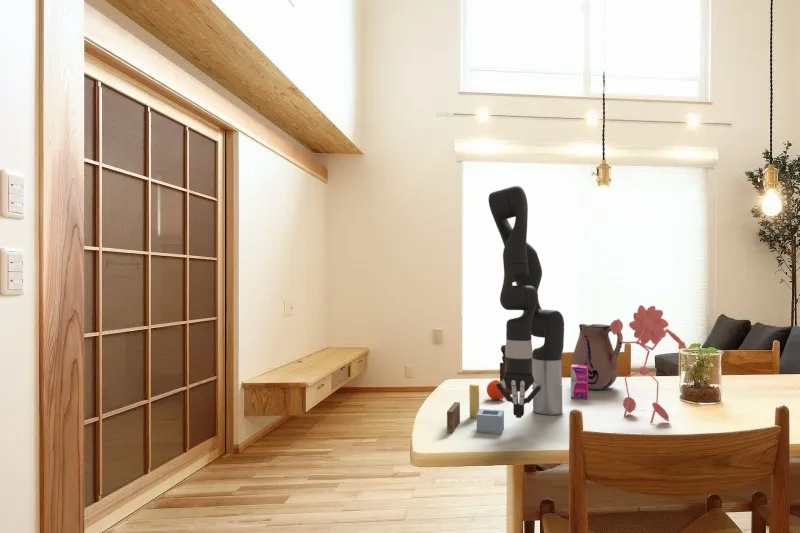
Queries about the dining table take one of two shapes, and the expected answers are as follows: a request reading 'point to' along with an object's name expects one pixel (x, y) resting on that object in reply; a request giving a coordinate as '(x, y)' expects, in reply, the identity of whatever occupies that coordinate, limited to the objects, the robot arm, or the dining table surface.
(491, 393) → the clementine
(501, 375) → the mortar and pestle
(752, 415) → the dining table surface
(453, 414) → the wall
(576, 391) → the supplement box
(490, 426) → the socket block
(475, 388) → the dowel
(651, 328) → the figurine
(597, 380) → the ceramic pitcher
